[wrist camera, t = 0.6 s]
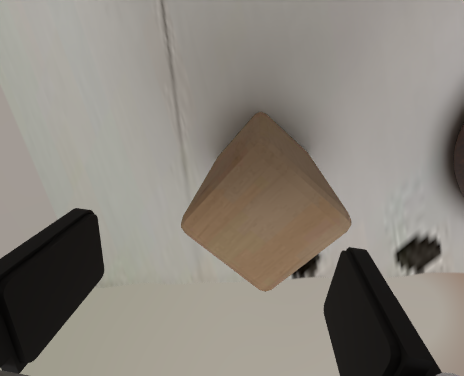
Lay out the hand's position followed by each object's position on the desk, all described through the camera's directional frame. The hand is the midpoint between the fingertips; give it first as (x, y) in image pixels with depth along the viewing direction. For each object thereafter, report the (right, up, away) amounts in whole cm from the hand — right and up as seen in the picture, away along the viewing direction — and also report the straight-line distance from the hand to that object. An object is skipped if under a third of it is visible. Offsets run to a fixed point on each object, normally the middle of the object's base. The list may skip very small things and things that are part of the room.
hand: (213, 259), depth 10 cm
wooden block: (+5, +7, +28) cm, 29 cm away
